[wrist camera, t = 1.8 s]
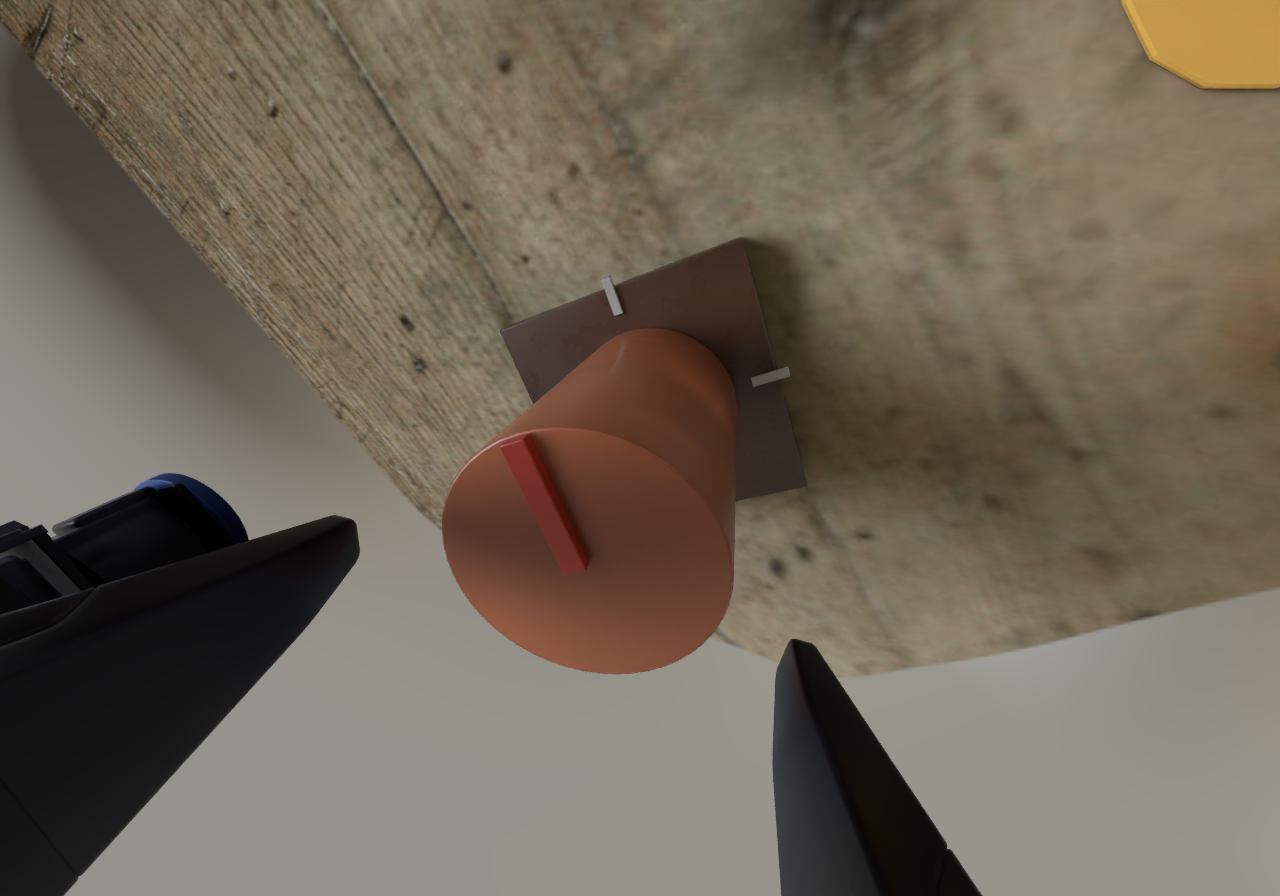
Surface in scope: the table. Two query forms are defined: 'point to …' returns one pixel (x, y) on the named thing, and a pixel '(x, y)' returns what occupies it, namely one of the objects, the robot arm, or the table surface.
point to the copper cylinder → (606, 510)
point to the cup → (1212, 40)
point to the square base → (700, 308)
